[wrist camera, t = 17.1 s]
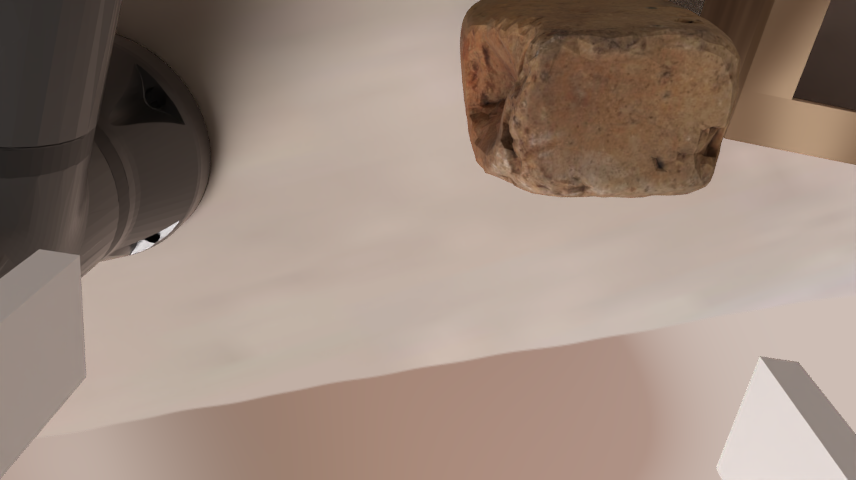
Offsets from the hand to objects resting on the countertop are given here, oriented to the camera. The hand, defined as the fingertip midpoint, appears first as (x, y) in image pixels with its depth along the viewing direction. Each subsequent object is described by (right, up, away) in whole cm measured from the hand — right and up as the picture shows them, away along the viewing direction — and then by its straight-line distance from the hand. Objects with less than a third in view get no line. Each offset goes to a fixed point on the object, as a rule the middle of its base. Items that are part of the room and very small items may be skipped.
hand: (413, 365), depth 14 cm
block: (+8, +14, +31) cm, 35 cm away
